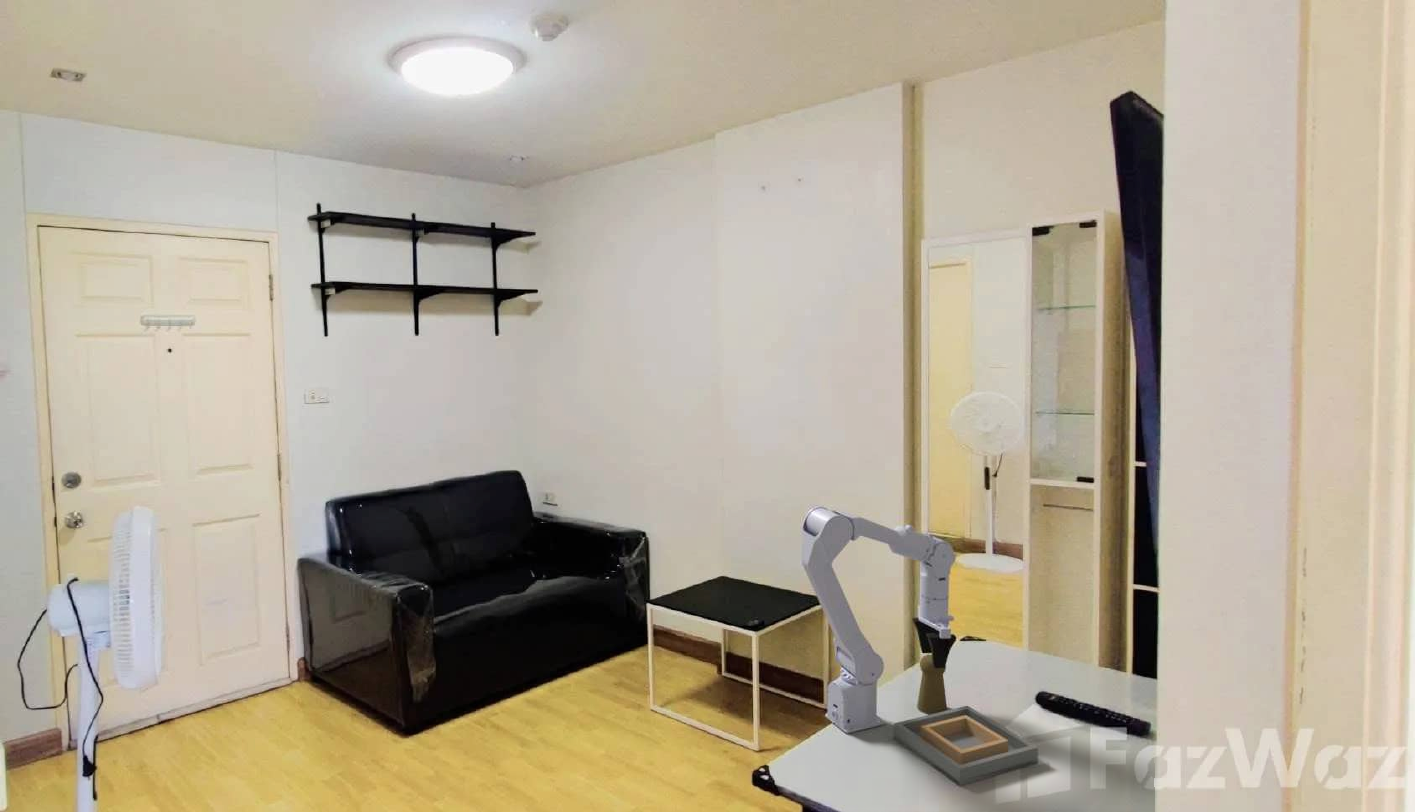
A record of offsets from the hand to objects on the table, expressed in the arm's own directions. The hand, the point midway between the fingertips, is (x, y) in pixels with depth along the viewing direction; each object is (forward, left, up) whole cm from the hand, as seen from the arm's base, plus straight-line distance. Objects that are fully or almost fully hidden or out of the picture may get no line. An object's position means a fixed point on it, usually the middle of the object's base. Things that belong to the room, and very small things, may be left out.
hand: (932, 659), depth 162 cm
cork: (0, 0, -11) cm, 11 cm away
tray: (-6, -16, -10) cm, 20 cm away
